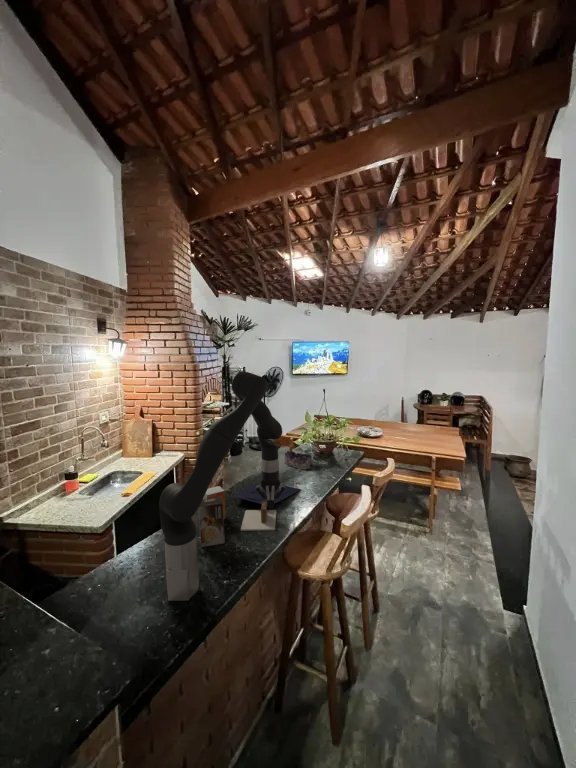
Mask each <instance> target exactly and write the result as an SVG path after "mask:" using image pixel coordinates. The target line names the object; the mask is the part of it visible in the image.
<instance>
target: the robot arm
mask: <svg viewBox="0 0 576 768" xmlns="http://www.w3.org/2000/svg"><path fill="white" fill-rule="evenodd" d="M231 390H232V393H233V394H234V395H235V396H236V397H237V399H238V400H239V401H240V403H239V404H238V406H237V407H236V408H234V409H233V410H232V411H230V412H229V413H227V414H225V415H224V416H221V417H220V418H219V419H216V421H214V422H213V423H212V424H211V425H210V426H209V427H208V429H207V431H206V432H205V434H204V436H203V437H202V439H201V441H200V443H199V446H198V449H197V453H196V459H195V462H194V463H195V464H194V467H193V470H192V472H191V474H190V475H189V477H188V479H187V480H186V482H185V483H181V482H173V483H171V484H168V485H167V486H166V487H165V488H164V489H163V490H162V492H161V494H160V497H159V500H158V501H159V503H158V505H159V507H158V508H159V518H160V527H161V531H162V534H163V537H164V555H165V556H164V557H165V571H166V572H165V574H166V589H167V600H168V601H169V602H171V601H172V602H173V601H175V602H176V601H177V602H178V601H179V602H181V601H182V602H183V601H185V602H186V601H190V599H191V598H192V597H193V596H194V595H196V593H197V592H198V591H199V586H200V584H199V567H198V566H199V564H198V563H199V562H198V561H199V560H198V546H197V545H198V543H197V541H198V540H197V526H196V523H195V521H194V520H193V516H194V515H196V513H197V511H199V506H200V504H201V502H202V500H203V498H204V496H205V493H206V491H207V489H209V488H210V485H211V483H212V481H213V479H214V477H215V475H216V474H217V472H218V471H219V468H220V467H221V465H222V463H223V461H224V460H225V458H226V456H227V455H228V454H229V452H230V450H231V448H232V446H233V445H234V443H235V441H236V439H237V437H238V436H239V434H240V433H241V431H242V429H243V428H244V426H245V424H246V422H247V421H248V419H249V418H250V417H252V418H253V420H254V422H255V424H256V426H257V427H256V434H257V438H258V441H259V444H260V449H261V462H260V463H261V465H260V470H261V474H260V476H261V481H260V482H261V483H260V485H259V486H257V487H256V490H257V492H258V493H259V494H260V495H261V496H262V498H263V499H267V504H268V506H267V508H268V509H273V508H274V507H275V504H274V499H278V497H279V496H280V495H281V494H282V492H283V491H284V490H285V486H286V485H284V484H281V480H280V461H279V447H278V445H277V444H275V443H272V442H271V441H269V440H279V439H280V438H281V437H282V434H283V427H282V425H281V423H280V422H279V421H278V420H277V419H276V418H275V417H274V416H273V414H272V412H271V409H270V408H269V407H268V405H266V404H265V402H264V401H262V399H263V398H264V396H265V395H266V392H267V390H268V380H267V379H266V378H264V377H263V376H260V375H258V374H254V373H252V372H249V371H238V372H237V373H236V374H235V375H234V377H233V378H232V380H231ZM278 487H279V491H278V492H277V493H276V495H274V492H275V491H276V490H277V489H278ZM262 488H263V489H264V490H265V491H266V494H267V495H266V494H265V493H264V491H263V490H262ZM270 492H271V498H270Z"/></svg>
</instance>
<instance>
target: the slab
mask: <svg viewBox="0 0 576 768" xmlns="http://www.w3.org/2000/svg"><path fill="white" fill-rule="evenodd" d="M260 510H261V523H266V519H267V510H268V506H267V502H262V504H261V507H260Z"/></svg>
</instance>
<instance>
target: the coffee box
mask: <svg viewBox="0 0 576 768" xmlns="http://www.w3.org/2000/svg"><path fill="white" fill-rule="evenodd" d="M198 521H199V538H200V540H199V541H200V547H201V548H203V547H204V548H206V547H210V546H216V545H221V544H225V541H226V540H225V539H226V537H225V523H224V521H225V519H224V518H223V503H222V498H221V497H217V498H210V499H203V500H202V502H201V504H200V506H199V508H198Z"/></svg>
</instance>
